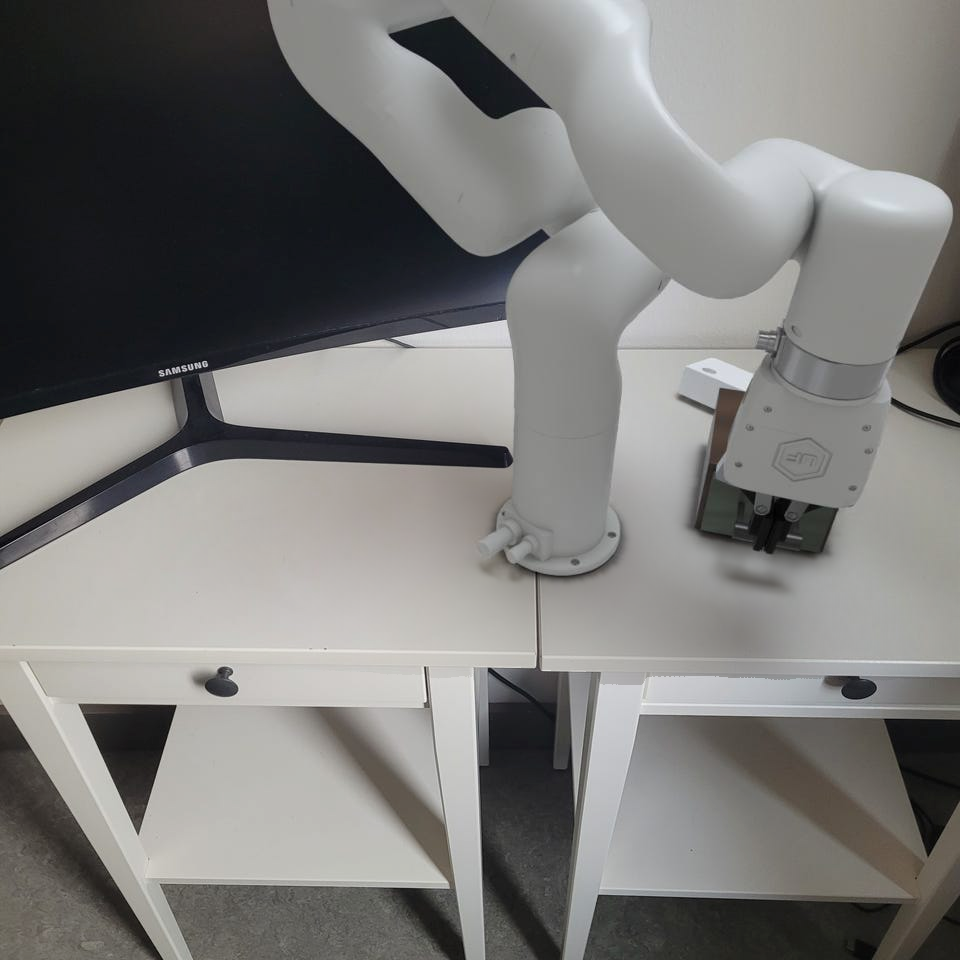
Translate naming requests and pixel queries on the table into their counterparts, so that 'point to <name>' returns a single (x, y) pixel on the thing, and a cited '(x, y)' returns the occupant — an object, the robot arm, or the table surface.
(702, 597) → the table surface
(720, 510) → the drawer
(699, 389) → the bracket
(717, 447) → the cabinet
